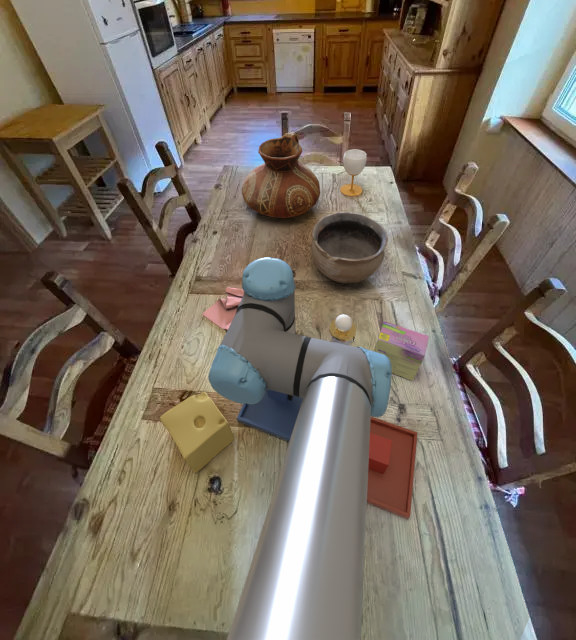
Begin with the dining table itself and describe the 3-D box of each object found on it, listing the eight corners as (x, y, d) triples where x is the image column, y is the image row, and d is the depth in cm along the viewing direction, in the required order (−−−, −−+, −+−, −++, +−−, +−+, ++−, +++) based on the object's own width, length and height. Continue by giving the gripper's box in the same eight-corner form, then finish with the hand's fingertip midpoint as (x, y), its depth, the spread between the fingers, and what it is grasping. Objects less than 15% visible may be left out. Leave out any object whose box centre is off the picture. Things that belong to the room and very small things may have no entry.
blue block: (287, 403, 74) (285, 391, 69) (267, 396, 75) (265, 384, 71) (294, 384, 77) (293, 372, 72) (275, 378, 78) (273, 365, 74)
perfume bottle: (339, 380, 82) (346, 334, 68) (321, 365, 85) (324, 317, 71) (354, 365, 85) (364, 317, 71) (336, 350, 88) (342, 302, 74)
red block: (383, 474, 67) (388, 465, 63) (360, 465, 69) (364, 456, 64) (386, 450, 70) (392, 440, 66) (365, 442, 72) (368, 432, 67)
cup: (338, 194, 139) (341, 158, 128) (342, 182, 145) (346, 147, 134) (360, 197, 137) (365, 161, 125) (364, 186, 143) (369, 150, 132)
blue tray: (302, 447, 72) (302, 444, 70) (237, 422, 76) (236, 418, 75) (322, 381, 82) (322, 378, 81) (264, 362, 86) (263, 358, 85)
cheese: (212, 403, 79) (203, 383, 72) (238, 441, 73) (231, 423, 66) (171, 434, 75) (157, 416, 68) (195, 478, 68) (182, 463, 61)
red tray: (407, 519, 63) (410, 517, 61) (327, 486, 67) (328, 483, 65) (415, 435, 73) (417, 432, 71) (345, 411, 77) (346, 407, 75)
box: (417, 361, 85) (429, 335, 77) (413, 381, 81) (425, 356, 73) (376, 346, 88) (383, 320, 80) (370, 365, 85) (377, 339, 76)
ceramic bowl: (296, 268, 110) (295, 232, 99) (341, 237, 120) (345, 201, 109) (348, 308, 97) (354, 272, 87) (394, 270, 107) (404, 234, 97)
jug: (322, 226, 124) (325, 164, 107) (240, 229, 125) (230, 168, 107) (316, 182, 146) (318, 125, 129) (246, 185, 146) (238, 128, 129)
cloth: (288, 330, 93) (288, 325, 91) (208, 353, 88) (206, 348, 87) (268, 278, 107) (268, 272, 105) (199, 295, 103) (197, 290, 101)
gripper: (328, 328, 59) (323, 387, 76) (238, 302, 64) (251, 364, 80) (316, 365, 54) (313, 421, 71) (219, 335, 59) (237, 393, 75)
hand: (280, 390), depth 75 cm, fingers closed on blue block, 4 cm apart
